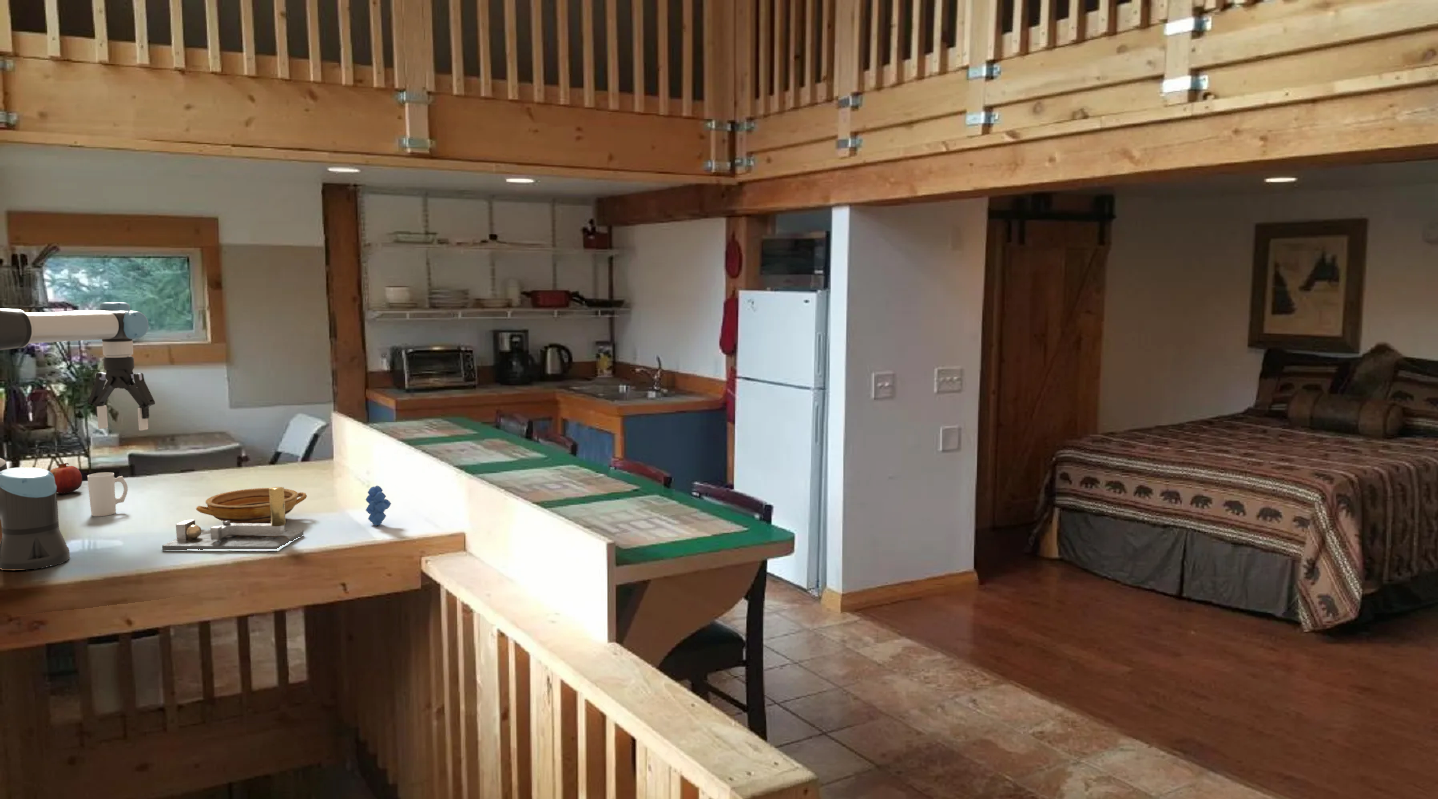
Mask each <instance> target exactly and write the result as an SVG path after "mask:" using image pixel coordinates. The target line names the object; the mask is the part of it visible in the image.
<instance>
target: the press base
mask: <svg viewBox="0 0 1438 799" xmlns="http://www.w3.org/2000/svg"><path fill="white" fill-rule="evenodd" d="M175 532H176V533H175V534H176V538H175V539H173V540H171V541H169V542H167V543H165V544H162V550H187V549H198V550H199V549H200V550H203V549H277V548H279V547H280V546H282V545H285V544H286V543H288V542H289V541H293V540H294V539H296V538H298V537H301V536H302V535H305V534H304V530H285V533H283V534H281V535H227V536H225V537H223V538H221V539H219V540H211V531H210V529H201V527H200V526H199V525H197V524H196V519H185V520H182V521H180V522H177V523H176V524H175ZM301 538H302V537H301ZM162 550H161V551H162Z"/></svg>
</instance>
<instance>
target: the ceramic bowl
mask: <svg viewBox="0 0 1438 799" xmlns="http://www.w3.org/2000/svg"><path fill="white" fill-rule="evenodd" d="M269 488H270V487H262V488H261V487H258V488H257V487H256V488H247V489H240V490H238V489H237V490H232V491H226V492H222V493H219V494H218V493H217V494H216V495H213V496H210V497H208V498H207V499H206V500H205V504H206V505H207V506H203V505H198V506H196V508H195V509H196V511H197V512H199V513H201V514H204V515H208V516H212V517H214V518H215V519H217V520H219V521H222V522H223V521H230V523H271V514H270V496H269ZM307 497H308V496H307V493H306V492H301V491H300V492H298V491H296V490H293V489H289V488H284V501H285V516H286V515H287V514H289V513H290V512H291V511H292V510H293V509H294V508H295V506H296V505H298V504H300V503H301V502H303V501H304V500H306V499H307Z"/></svg>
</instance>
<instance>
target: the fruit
mask: <svg viewBox="0 0 1438 799" xmlns="http://www.w3.org/2000/svg"><path fill="white" fill-rule="evenodd" d="M56 466H58V467H55V468H52V469H51V470H49V471H50V472H51V473H52V474H53V475H54V478H55V484H56V486H57V494H65V495H66V494H69V493H72V492H74V491H76V490H79V488H81V486H82V484H83V475H82V473H81V471H80V470H79V469H78V467H77V466H74V465H70V463H69V462H64V463H59V464H57V465H56Z"/></svg>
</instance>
